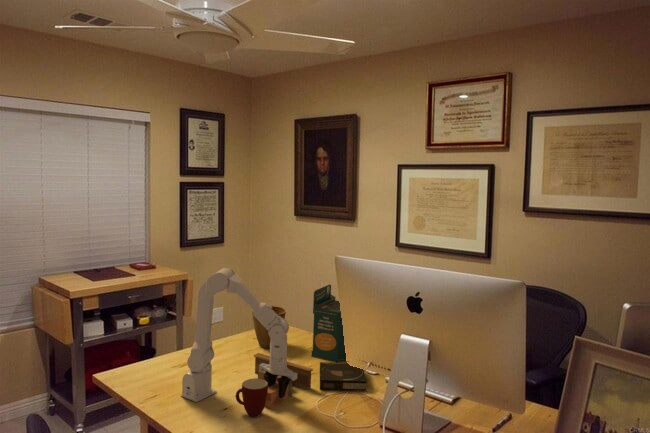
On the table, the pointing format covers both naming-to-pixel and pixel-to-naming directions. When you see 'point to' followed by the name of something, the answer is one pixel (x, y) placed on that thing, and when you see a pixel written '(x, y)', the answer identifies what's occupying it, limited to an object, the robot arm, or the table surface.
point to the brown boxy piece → (276, 395)
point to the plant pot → (262, 331)
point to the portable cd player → (341, 377)
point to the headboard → (302, 371)
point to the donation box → (327, 327)
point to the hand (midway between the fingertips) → (277, 395)
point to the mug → (253, 396)
